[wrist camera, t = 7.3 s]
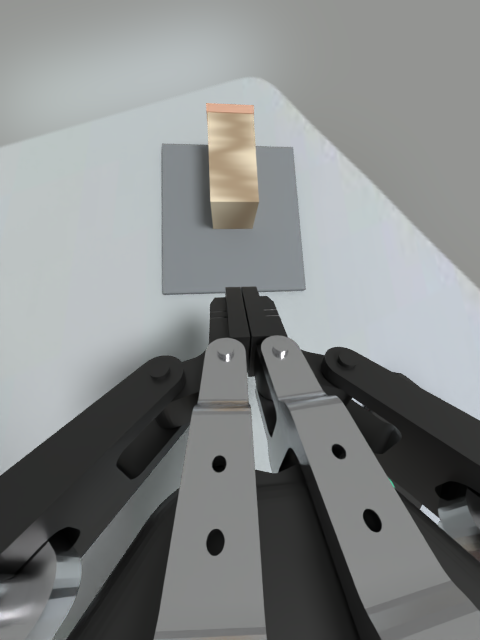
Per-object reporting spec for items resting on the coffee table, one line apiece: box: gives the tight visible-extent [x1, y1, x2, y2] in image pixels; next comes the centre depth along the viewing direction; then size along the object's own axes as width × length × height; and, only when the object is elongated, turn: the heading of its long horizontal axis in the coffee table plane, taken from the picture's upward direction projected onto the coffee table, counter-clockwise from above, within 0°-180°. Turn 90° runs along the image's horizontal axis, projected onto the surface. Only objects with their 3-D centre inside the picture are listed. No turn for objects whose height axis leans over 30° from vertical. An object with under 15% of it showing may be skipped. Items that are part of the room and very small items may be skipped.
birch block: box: [206, 103, 259, 229], centre depth 19 cm, size 4×4×9 cm
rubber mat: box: [162, 144, 306, 295], centre depth 21 cm, size 14×16×1 cm
